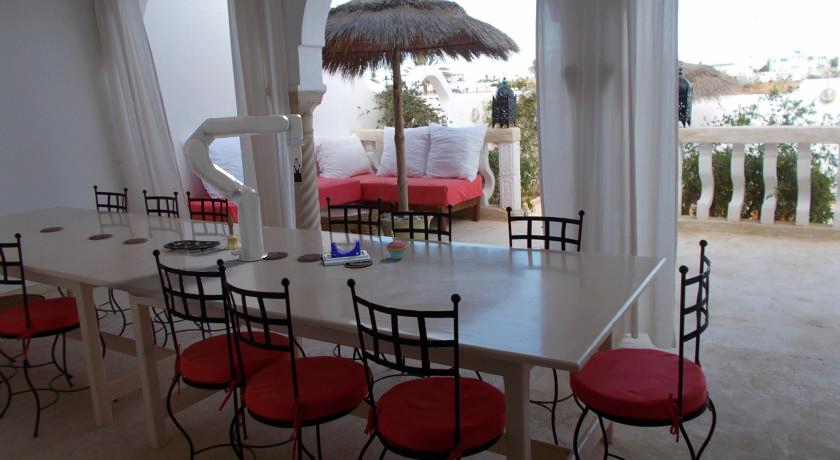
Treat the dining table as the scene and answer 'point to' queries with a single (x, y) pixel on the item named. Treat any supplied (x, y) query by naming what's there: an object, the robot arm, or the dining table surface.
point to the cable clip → (345, 254)
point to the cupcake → (396, 248)
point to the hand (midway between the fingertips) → (298, 180)
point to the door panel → (345, 259)
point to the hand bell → (232, 237)
